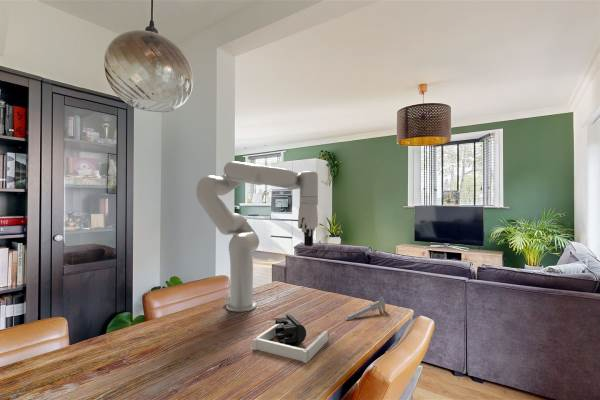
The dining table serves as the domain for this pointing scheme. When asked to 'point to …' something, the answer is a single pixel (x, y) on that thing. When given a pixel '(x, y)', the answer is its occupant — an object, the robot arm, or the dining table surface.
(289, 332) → the end cap
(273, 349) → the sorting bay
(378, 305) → the caliper
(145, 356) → the dining table surface
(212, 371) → the dining table surface
